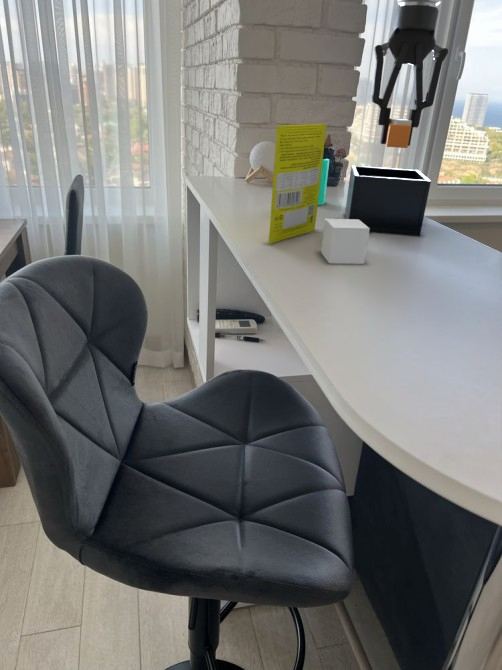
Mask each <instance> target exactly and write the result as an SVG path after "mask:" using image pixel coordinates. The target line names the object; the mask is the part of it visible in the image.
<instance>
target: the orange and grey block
mask: <svg viewBox="0 0 502 670" xmlns="http://www.w3.org/2000/svg"><path fill="white" fill-rule="evenodd" d="M411 123H412V121H411V120H408V119H405V118H391V117H390V118H389V125H388V131H387V137H386V143H385V144H383V145H384V146H385V147H386V148H399V149H407V148H409V146H408V142H409V137H410V131H411Z"/></svg>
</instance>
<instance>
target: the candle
mask: <svg viewBox="0 0 502 670" xmlns="http://www.w3.org/2000/svg"><path fill="white" fill-rule="evenodd" d="M329 167H330V159H329V158H323V161H322V170H321V179H320V188H319V197H318V206H323V205H325V203H326V194H327V185H328V177H329Z"/></svg>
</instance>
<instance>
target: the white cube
mask: <svg viewBox="0 0 502 670" xmlns="http://www.w3.org/2000/svg"><path fill="white" fill-rule="evenodd" d="M369 230H370V228H369V227H367V226H366V225H365V224H364V223H362V222H361V221H360V220H359V219H346V218H324V222H323V232H322V240H321V249H320V253H321V255H322V256H323V257H324V258H325V260H326V261H327V263H328V264H338V265H339V264H340V265H341V264H342V265H343V264H344V265H345V264H346V265H347V264H348V265H349V264H350V265H365V261H366V255H367V248H368V241H369V236H370V232H369Z"/></svg>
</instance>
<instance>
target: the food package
mask: <svg viewBox="0 0 502 670" xmlns="http://www.w3.org/2000/svg"><path fill="white" fill-rule="evenodd" d="M326 131H327V123H308V124H307V123H306V124H305V123H304V124H281V125H280V124H279V125H276V132H275V147H274V148H275V149H274V163H273V177H272V190H271V191H272V192H271V206H270V221H269V234H268V245H271V244H274V243H277V242H281V241H284V240H287V239H291V238H293V237H296V236H300V235H303V234H307V233H310V232H314V231H315V230H316V224H317V223H316V222H317V215H318V206H319V205H318V197H319V188H320V179H321V170H322V161H323V160H324V151H325V141H326V133H327V132H326Z"/></svg>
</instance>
